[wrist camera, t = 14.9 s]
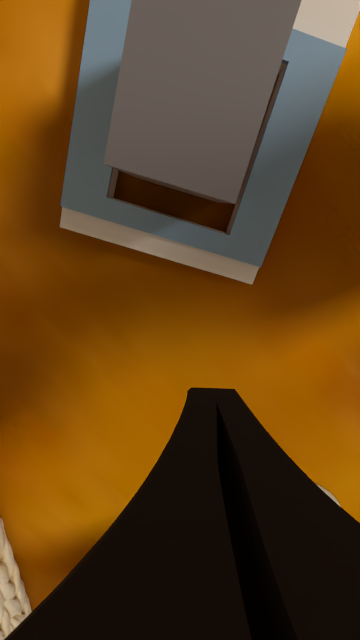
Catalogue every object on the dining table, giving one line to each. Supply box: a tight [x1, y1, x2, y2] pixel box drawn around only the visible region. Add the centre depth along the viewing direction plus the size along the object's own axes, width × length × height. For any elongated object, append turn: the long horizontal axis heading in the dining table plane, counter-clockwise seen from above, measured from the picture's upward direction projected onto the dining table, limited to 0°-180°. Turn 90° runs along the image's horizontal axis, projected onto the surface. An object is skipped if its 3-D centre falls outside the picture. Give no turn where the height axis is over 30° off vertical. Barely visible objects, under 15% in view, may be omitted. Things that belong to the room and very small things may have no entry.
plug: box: [104, 0, 302, 204], centre depth 12 cm, size 4×5×7 cm
